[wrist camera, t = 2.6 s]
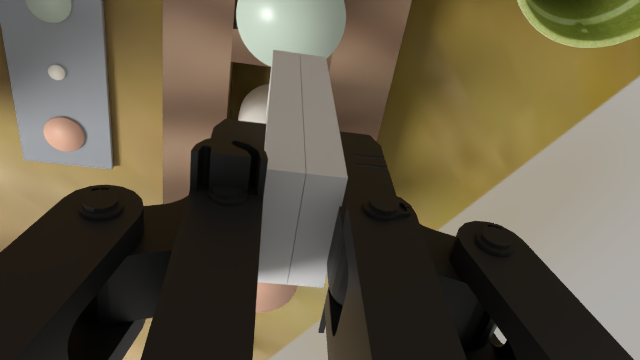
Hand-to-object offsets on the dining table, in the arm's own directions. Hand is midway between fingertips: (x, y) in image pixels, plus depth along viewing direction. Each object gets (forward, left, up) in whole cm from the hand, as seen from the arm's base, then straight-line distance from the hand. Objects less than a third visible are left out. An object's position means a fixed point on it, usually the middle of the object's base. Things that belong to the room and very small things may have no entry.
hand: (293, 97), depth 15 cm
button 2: (0, 0, -15) cm, 15 cm away
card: (+8, -14, -18) cm, 24 cm away
